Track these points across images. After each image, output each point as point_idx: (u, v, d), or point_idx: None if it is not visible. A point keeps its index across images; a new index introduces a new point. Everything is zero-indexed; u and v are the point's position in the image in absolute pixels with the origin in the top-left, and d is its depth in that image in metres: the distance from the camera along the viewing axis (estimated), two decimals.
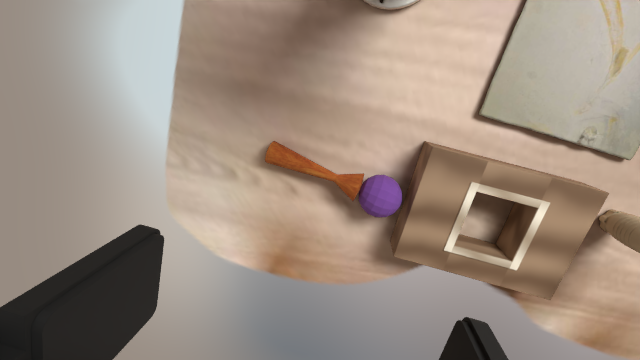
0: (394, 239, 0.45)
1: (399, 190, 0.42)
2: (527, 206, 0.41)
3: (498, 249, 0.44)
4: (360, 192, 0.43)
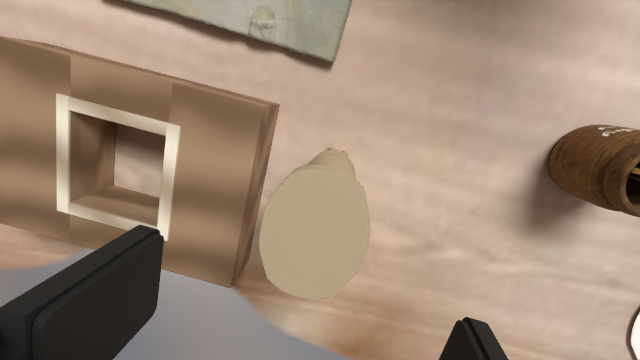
0: None
1: None
2: None
3: None
4: None
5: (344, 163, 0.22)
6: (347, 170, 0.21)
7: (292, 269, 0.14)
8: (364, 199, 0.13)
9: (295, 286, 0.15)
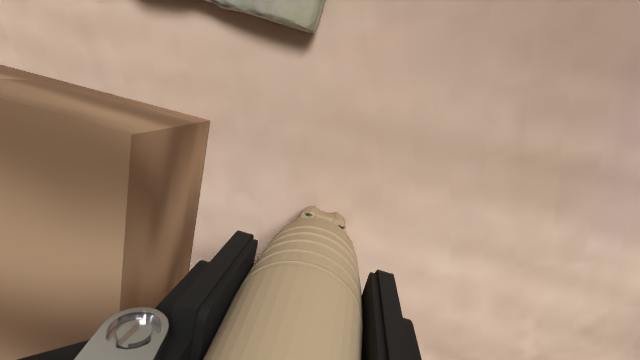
0: None
1: None
2: None
3: None
4: None
5: (333, 292, 0.08)
6: (340, 327, 0.07)
7: None
8: None
9: None
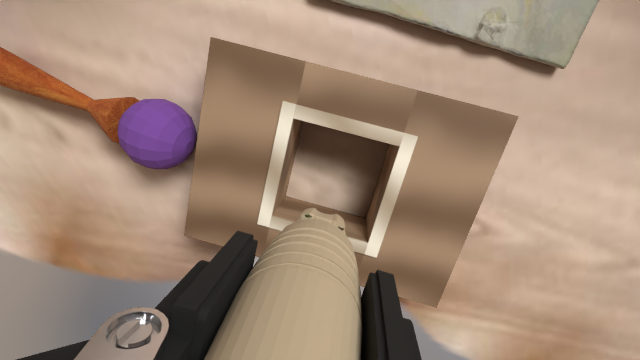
0: None
1: (177, 121, 0.25)
2: (393, 149, 0.24)
3: (362, 225, 0.28)
4: None
5: (332, 295, 0.08)
6: (339, 330, 0.07)
7: None
8: None
9: None
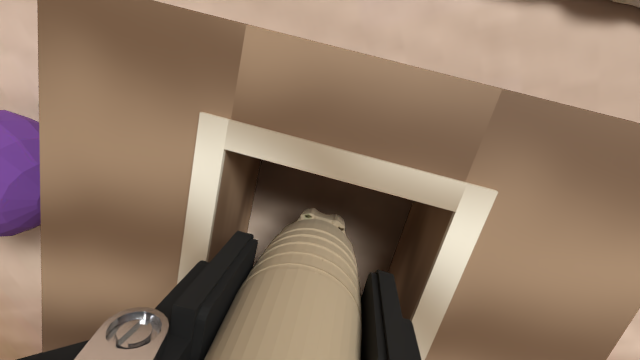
0: None
1: (12, 153, 0.13)
2: (433, 206, 0.12)
3: None
4: None
5: (332, 295, 0.08)
6: (339, 330, 0.07)
7: None
8: None
9: None
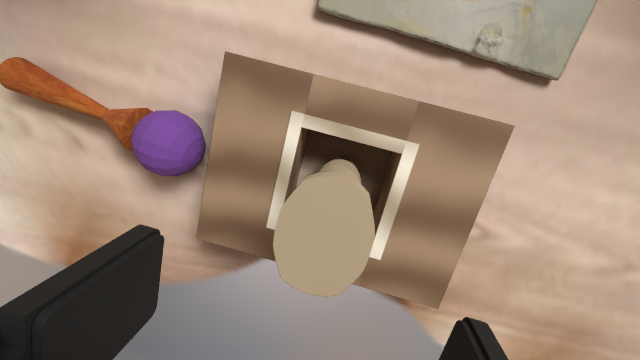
0: None
1: (187, 131, 0.27)
2: (396, 156, 0.26)
3: None
4: None
5: (351, 172, 0.23)
6: (354, 178, 0.22)
7: (303, 268, 0.16)
8: (369, 204, 0.15)
9: (305, 284, 0.16)
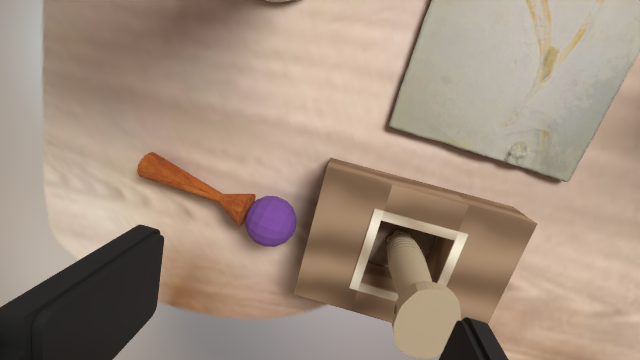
0: None
1: (289, 215, 0.35)
2: None
3: None
4: (246, 216, 0.36)
5: (420, 254, 0.32)
6: (424, 261, 0.31)
7: (412, 341, 0.25)
8: (458, 305, 0.24)
9: (412, 351, 0.25)
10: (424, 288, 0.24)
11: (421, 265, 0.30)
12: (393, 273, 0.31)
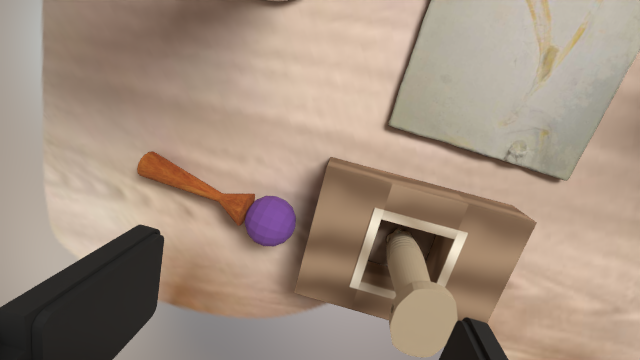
0: None
1: (288, 216, 0.35)
2: None
3: None
4: (245, 216, 0.36)
5: (419, 254, 0.32)
6: (423, 260, 0.31)
7: (408, 340, 0.25)
8: (455, 305, 0.24)
9: (409, 349, 0.25)
10: (421, 287, 0.24)
11: (420, 264, 0.30)
12: (391, 271, 0.31)
